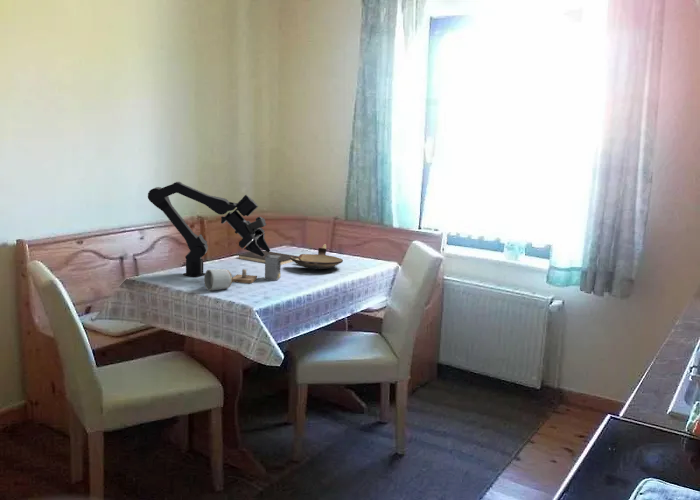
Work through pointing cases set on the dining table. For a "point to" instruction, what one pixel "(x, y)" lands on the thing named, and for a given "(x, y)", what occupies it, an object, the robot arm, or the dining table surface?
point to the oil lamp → (317, 260)
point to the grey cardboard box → (272, 267)
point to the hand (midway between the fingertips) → (266, 253)
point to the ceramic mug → (217, 279)
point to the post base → (244, 278)
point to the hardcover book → (258, 258)
